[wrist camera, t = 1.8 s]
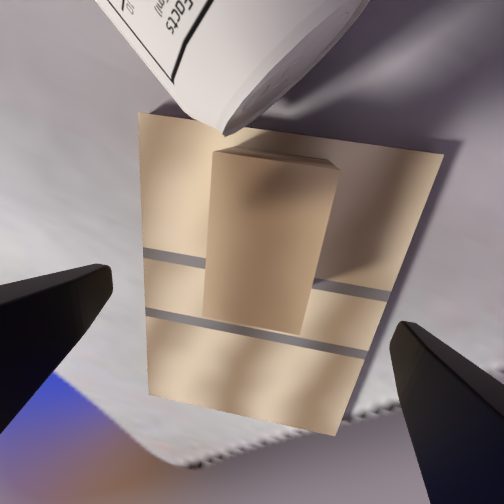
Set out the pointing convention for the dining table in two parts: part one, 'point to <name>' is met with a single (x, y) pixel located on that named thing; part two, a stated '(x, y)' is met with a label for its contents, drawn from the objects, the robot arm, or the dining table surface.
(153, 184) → the board
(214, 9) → the supplement can
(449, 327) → the dining table surface
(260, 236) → the block
